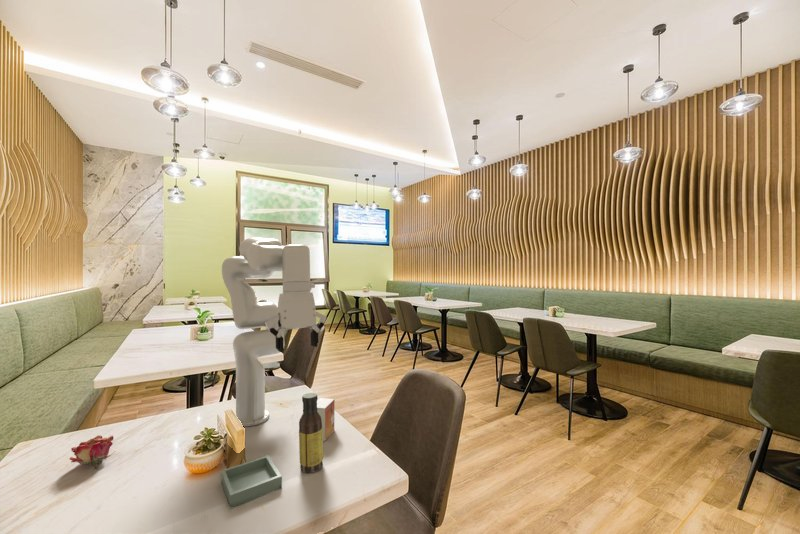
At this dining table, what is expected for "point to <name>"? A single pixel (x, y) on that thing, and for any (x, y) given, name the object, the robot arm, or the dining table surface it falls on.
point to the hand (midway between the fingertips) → (297, 348)
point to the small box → (326, 416)
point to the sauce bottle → (310, 435)
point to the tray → (250, 480)
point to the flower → (92, 451)
